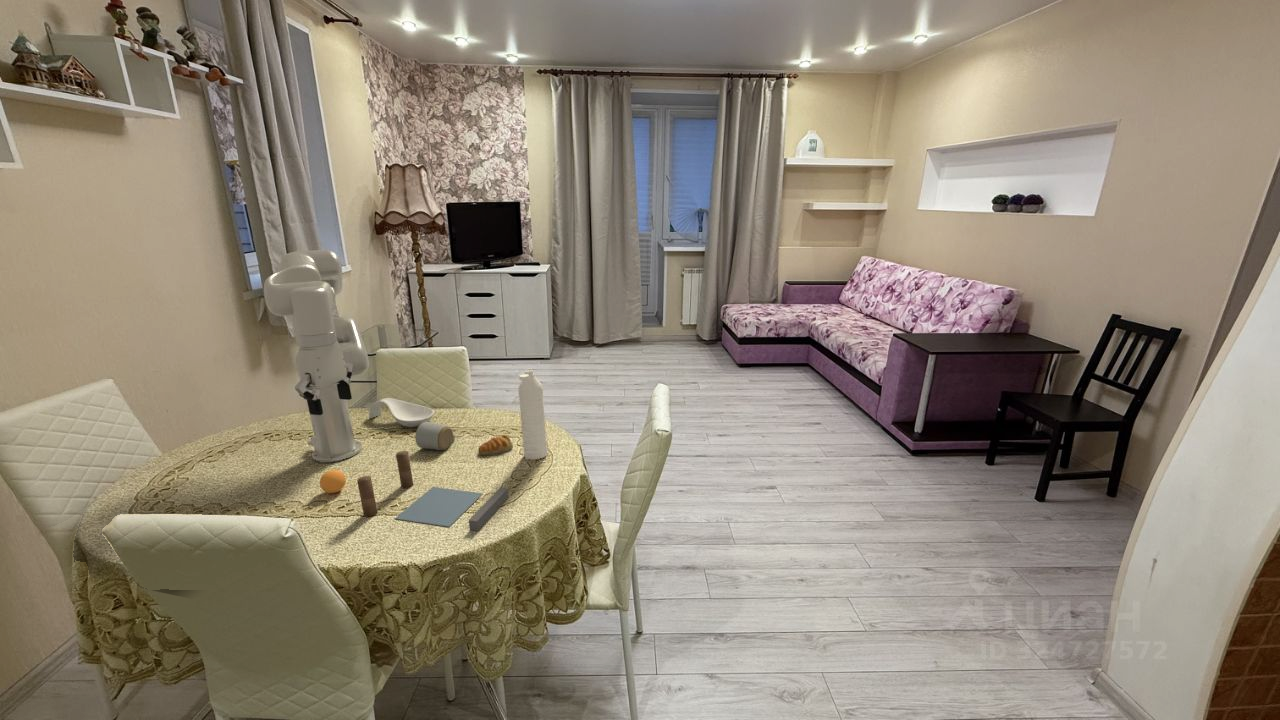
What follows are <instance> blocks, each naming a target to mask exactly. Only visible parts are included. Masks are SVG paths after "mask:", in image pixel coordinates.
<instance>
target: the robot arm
mask: <svg viewBox="0 0 1280 720" xmlns="http://www.w3.org/2000/svg"><path fill="white" fill-rule="evenodd" d="M279 268H280V271H277V272H275V273H273V274H271V275H269V276H268V277H267V278H266V279H265V281H264V284H263V294H264V302H265V304H266V307H267V309H268V310H269V312H270V313H271V314H272V315H275V316H277V317H289V319H290V321H291V325H292V329H293V334H294V338H295V341H296V342H295V343H296V344H297V347H298V351H297V353H296V354H295V357H294V367H295V370H296V372H297V375H298V377H299V381H298V382H297V383H296V384H295V386H294V389H295V390H296V392H297V394H299V396H300V397H301V398H303V400H305V401H306V404H307V407H308V413H309V417H310V423H311V428H312V431H313V435H312V436H310V439H309V440H308V441H307V446H310V447H311V446H312V447H314V448H313V449H314V450H313V452H312V453H311V457H312V458H313V459H314V460H313V459H312V460H313V461H315V460H316V461H315V462H317V461H320V462H319V463H333V462H334V461H335V462H339V461H340V462H341V461H343V459H344V460H347V459H348V458H349V459H350V458H352V457H354V456H355V455H358V453H360V451H361V450H362V449H363V445H362V442H361V441H358V440H356V439H355V435H354V431H353V425H352V420H351V419H352V418H351V415H350V409H349V404H348V401H350V400H351V399H353V398H352V392H351V386H350V384H351V383H352V380H351V378H352V377H353V376H359V375H362V374H364V373H366V372H367V371H368V369H369V368H370V367H369V366H370V360H369V355H368V352H367V349H366V346H365V343H364V341H363V337H362V334H361V331H360V328H359V326H358V324H357V322H356V321H355V320H354V319H353V318H351V317H348V316H339V317H333V312H332V309H333V307H334V305H335V304H336V302H337V297H336V296H337V295H339V294H340V293H341V292H342V291H343V267H342V263H341V260H340V258H339V256H338V255H337V254H336V252H334V251H332V250H330V249H316V250H315V249H314V250H297V251H290V252H288V253H286V254H284V255H283V257H282V258H281V259H280V262H279ZM346 458H347V459H346Z"/></svg>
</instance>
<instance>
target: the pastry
mask: <svg viewBox="0 0 1280 720" xmlns="http://www.w3.org/2000/svg"><path fill="white" fill-rule="evenodd" d="M513 447H514V445H513V442H512V440H511V438H510V436H509V435H508V434H502V435H501V436H494V437H492V438H490V439H489V440H488V441H486V442H483V443H482V444H481V445H480V446H478V454H479V455H483V456H491V455H492V456H493V455H498V453H499V454H502V453H506V452H509V451H511V450H512V449H513ZM508 450H509V451H508ZM505 451H506V452H505ZM501 452H502V453H501Z"/></svg>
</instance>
